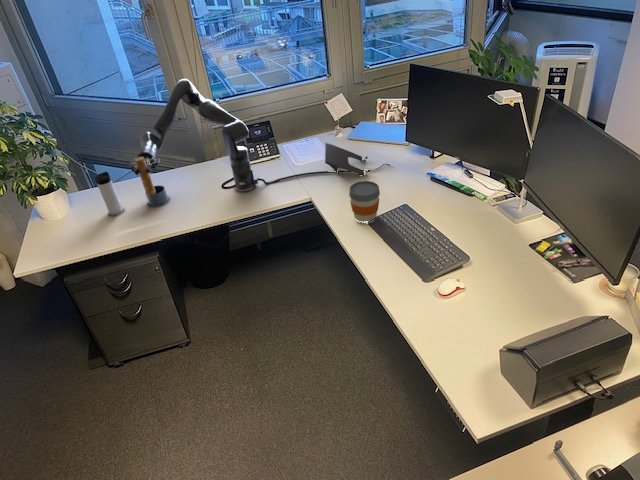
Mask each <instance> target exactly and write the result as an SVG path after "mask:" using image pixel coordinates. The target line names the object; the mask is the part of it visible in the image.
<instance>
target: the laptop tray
mask: <svg viewBox="0 0 640 480" xmlns="http://www.w3.org/2000/svg"><path fill="white" fill-rule="evenodd" d="M362 157H363V156H362V155H359V154H357V153H355V152H352V151H350V150H347V149H344V148H342V147H339V146H336V145H334V144H331V143H330V142H329V143H328V142H324V163H325V164H326V165H328V166H329V167H330V168H331V169H332V170H333V171H336V173H335V174H337V170H338V171H339V169H341V170H348V171H351V172H350V173H354V174H358V176H359V175H363V176H365V175H364V172H363V170H361V169H362V168H358V167H357V166H354V165H353V164H350V163H349V158H352V159H354V160H358V161H360V162H367V160H368V156H365V158H364V161H362ZM365 159H367V160H365ZM338 168H339V169H338ZM367 172H369V173H370V172H371V170H368V171H367ZM339 174H340V173H338V174H337V175H339Z"/></svg>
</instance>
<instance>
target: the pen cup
mask: <svg viewBox="0 0 640 480" xmlns="http://www.w3.org/2000/svg"><path fill="white" fill-rule="evenodd" d="M153 186H154V189H155V194H153V195H147V194H146V191H145V193H144V194H145V196H146V198H147V202H148V204H149V205H150V206H152V207H159V206H161V205H164V204H166V203H167V202H168V201H169V195H168V192H167V190H166V187H165V186H164V185H153Z"/></svg>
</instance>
